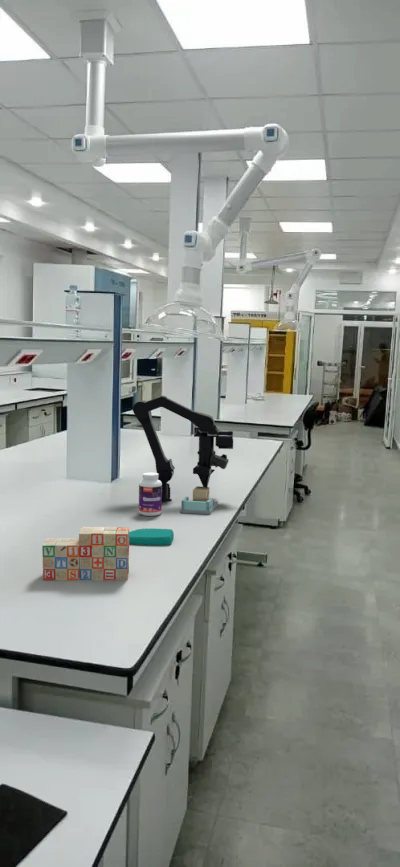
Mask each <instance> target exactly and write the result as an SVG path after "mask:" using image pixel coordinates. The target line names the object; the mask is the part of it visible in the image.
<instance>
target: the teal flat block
mask: <svg viewBox="0 0 400 867" xmlns="http://www.w3.org/2000/svg"><path fill="white" fill-rule="evenodd" d="M174 536H175V535H174V531H173V529H170V528H139V529H138V528H137V529H135V530H131V531H129V545H137V546H171V545H172V543H173V541H174Z"/></svg>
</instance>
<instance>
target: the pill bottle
mask: <svg viewBox="0 0 400 867" xmlns="http://www.w3.org/2000/svg"><path fill="white" fill-rule="evenodd" d="M158 477H159V475H158V473H157V472H144V473H142V479H140V481H139V482H138V513H139V514H140V515H142V516H144V517H155V516H159V515H160V514H162V512H163V508H162V507H163V506H162V505H163V502H162V482H161V481H160V480H158Z"/></svg>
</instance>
